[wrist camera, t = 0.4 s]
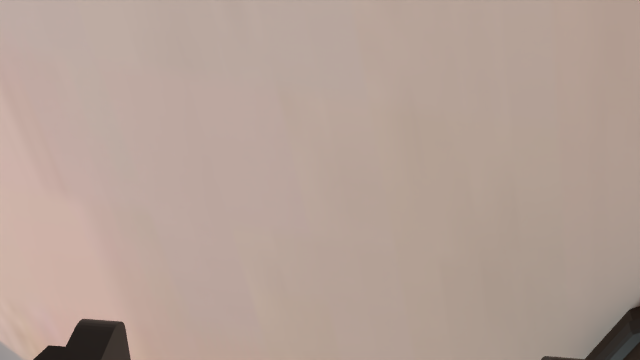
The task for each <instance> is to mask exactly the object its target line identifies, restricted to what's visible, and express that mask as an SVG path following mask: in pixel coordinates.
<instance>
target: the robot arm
mask: <svg viewBox="0 0 640 360" xmlns="http://www.w3.org/2000/svg"><path fill="white" fill-rule="evenodd" d="M33 360H131V359H130V353H129V347H128V341H127V335H126V329H125V325H124V323H123V322H118V321H105V320H93V319H82V320H81V321H79V323H78V324H77V326H76V327H75V329H74V331H73V333H72V335H71V337H70V339H69V341H68V343H67V345H66V347H62V346H48V347H47V348H45V349H44V350H43V351H42V352H41V353H40V354H39V355H38V356H37V357H36V358H35V359H33ZM541 360H584V359H574V358H562V357H549V356H545V357H543V358H542V359H541Z"/></svg>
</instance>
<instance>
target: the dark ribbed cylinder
mask: <svg viewBox="0 0 640 360" xmlns="http://www.w3.org/2000/svg"><path fill="white" fill-rule="evenodd" d="M585 360H640V306H639V307H636V308H633V309H630V310H629V311H628V312H627V313H626V314H625V315H624V316H623V318H622V319H621V320H620V321H619V322H618V323H617V324H616V325H615V326H614V327H613V329H612V330H611V331H610V332H609V333H608V334H607V335H606V336H605V337H604V339H603V340H602V341H601V342H600V343H599V344H598V345H597V346H596V347H595V348H594V350H593V351H592V352H591V353H590V354H589V355H588V356H587V357H586V358H585Z"/></svg>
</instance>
